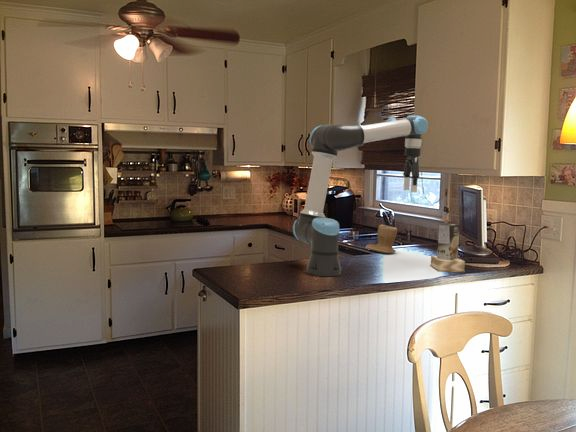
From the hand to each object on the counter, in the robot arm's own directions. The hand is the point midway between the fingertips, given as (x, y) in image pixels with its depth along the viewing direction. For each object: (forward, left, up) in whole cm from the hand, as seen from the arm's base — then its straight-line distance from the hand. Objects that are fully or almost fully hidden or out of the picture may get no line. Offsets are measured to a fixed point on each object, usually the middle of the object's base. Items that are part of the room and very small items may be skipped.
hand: (409, 191), depth 272 cm
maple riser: (+15, -18, -35) cm, 42 cm away
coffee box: (+15, -17, -30) cm, 38 cm away
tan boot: (-6, +23, -35) cm, 42 cm away
